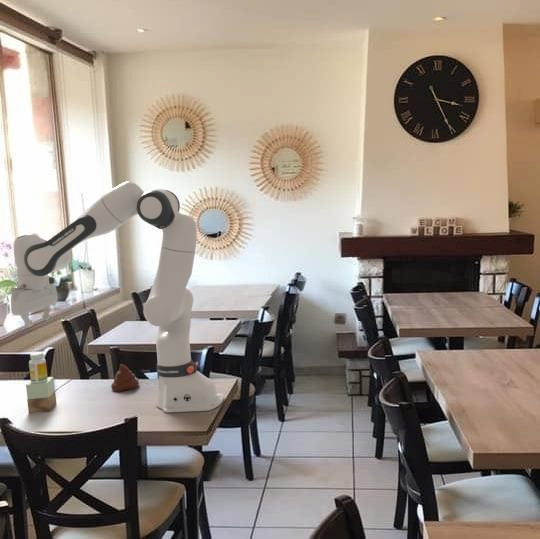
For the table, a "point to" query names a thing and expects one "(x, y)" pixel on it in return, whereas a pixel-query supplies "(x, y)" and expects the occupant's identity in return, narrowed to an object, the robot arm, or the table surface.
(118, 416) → the table surface
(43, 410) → the tower base
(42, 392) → the tower top
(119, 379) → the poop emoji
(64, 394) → the table surface
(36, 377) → the supplement bottle
